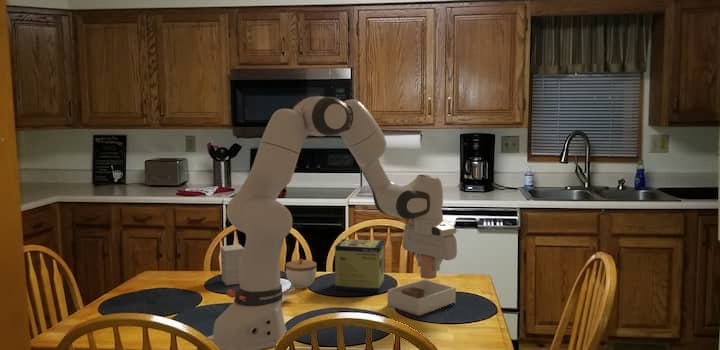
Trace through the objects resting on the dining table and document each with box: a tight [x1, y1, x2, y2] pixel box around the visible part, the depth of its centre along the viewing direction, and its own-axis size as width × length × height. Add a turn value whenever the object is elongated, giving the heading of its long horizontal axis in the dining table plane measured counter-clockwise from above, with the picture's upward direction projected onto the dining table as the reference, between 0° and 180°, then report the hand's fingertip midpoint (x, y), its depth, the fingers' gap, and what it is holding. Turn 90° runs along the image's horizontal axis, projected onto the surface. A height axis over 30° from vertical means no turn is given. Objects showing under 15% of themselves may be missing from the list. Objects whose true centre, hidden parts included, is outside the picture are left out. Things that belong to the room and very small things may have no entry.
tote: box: [387, 278, 457, 317], centre depth 203 cm, size 13×17×5 cm
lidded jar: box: [285, 258, 317, 289], centre depth 223 cm, size 11×11×9 cm
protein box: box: [334, 238, 385, 293], centre depth 221 cm, size 10×16×16 cm
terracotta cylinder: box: [420, 254, 437, 280], centre depth 204 cm, size 5×5×7 cm
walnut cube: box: [402, 286, 424, 299], centre depth 200 cm, size 5×5×5 cm
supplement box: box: [220, 243, 245, 286], centre depth 228 cm, size 7×7×13 cm
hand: (428, 268), depth 204 cm, fingers closed on terracotta cylinder, 5 cm apart
